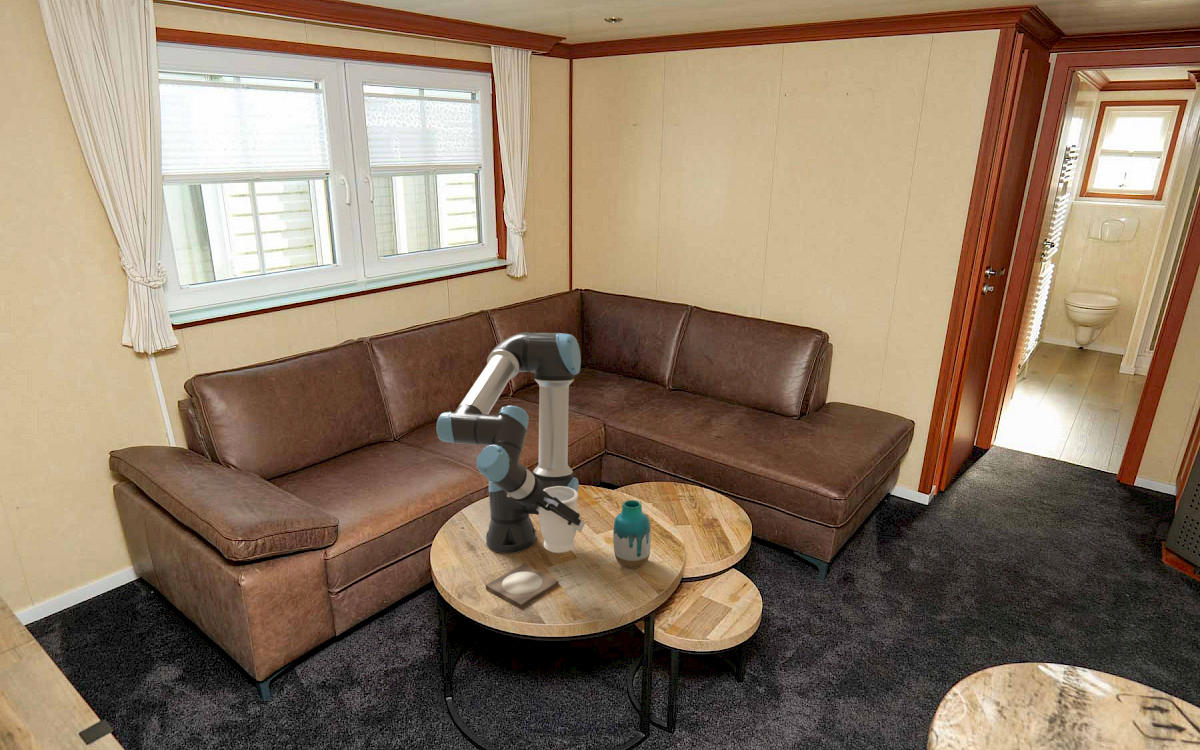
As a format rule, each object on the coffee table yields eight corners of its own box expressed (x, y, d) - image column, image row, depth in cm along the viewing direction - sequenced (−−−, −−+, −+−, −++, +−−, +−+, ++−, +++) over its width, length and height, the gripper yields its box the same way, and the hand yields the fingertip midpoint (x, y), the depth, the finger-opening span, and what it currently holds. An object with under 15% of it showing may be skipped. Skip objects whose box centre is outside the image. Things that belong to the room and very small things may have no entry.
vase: (647, 576, 192) (648, 513, 187) (610, 572, 194) (609, 510, 189) (652, 556, 202) (653, 496, 197) (617, 553, 204) (616, 494, 199)
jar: (534, 540, 187) (533, 489, 183) (570, 533, 191) (569, 483, 187) (547, 558, 178) (545, 505, 174) (584, 551, 181) (584, 498, 178)
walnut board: (485, 588, 187) (485, 584, 187) (523, 567, 197) (523, 563, 197) (521, 608, 178) (520, 604, 178) (558, 584, 189) (558, 580, 188)
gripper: (484, 487, 175) (529, 521, 190) (549, 512, 161) (593, 547, 177) (498, 461, 177) (542, 497, 193) (564, 484, 163) (605, 520, 179)
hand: (566, 521), depth 185 cm, fingers closed on jar, 10 cm apart
